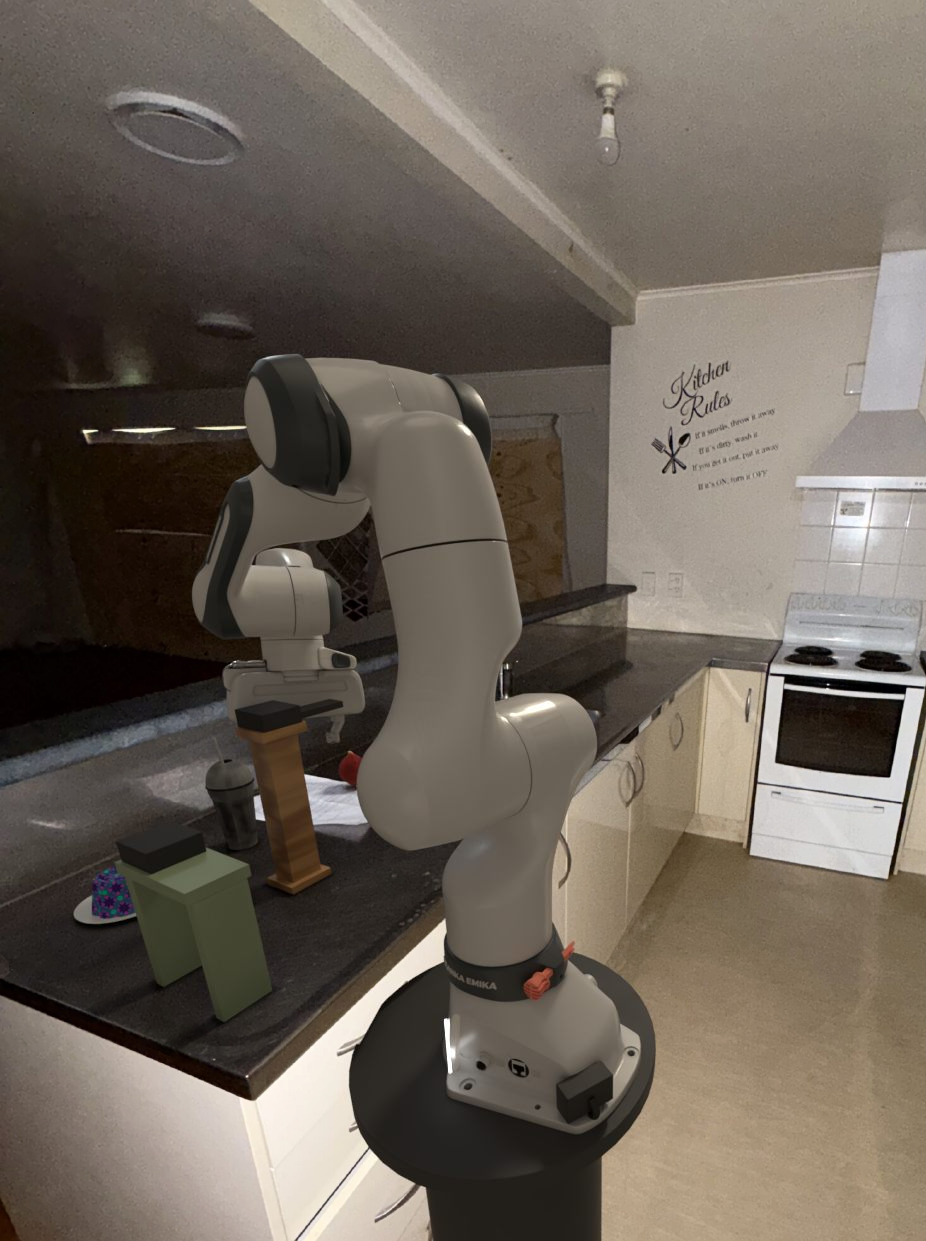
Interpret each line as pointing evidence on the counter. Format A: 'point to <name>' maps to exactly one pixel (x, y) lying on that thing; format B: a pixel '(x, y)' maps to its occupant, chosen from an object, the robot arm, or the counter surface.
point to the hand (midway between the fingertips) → (304, 746)
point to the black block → (161, 847)
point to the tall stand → (285, 806)
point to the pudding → (106, 900)
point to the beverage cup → (233, 800)
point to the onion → (350, 768)
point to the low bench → (202, 927)
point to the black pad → (280, 714)
